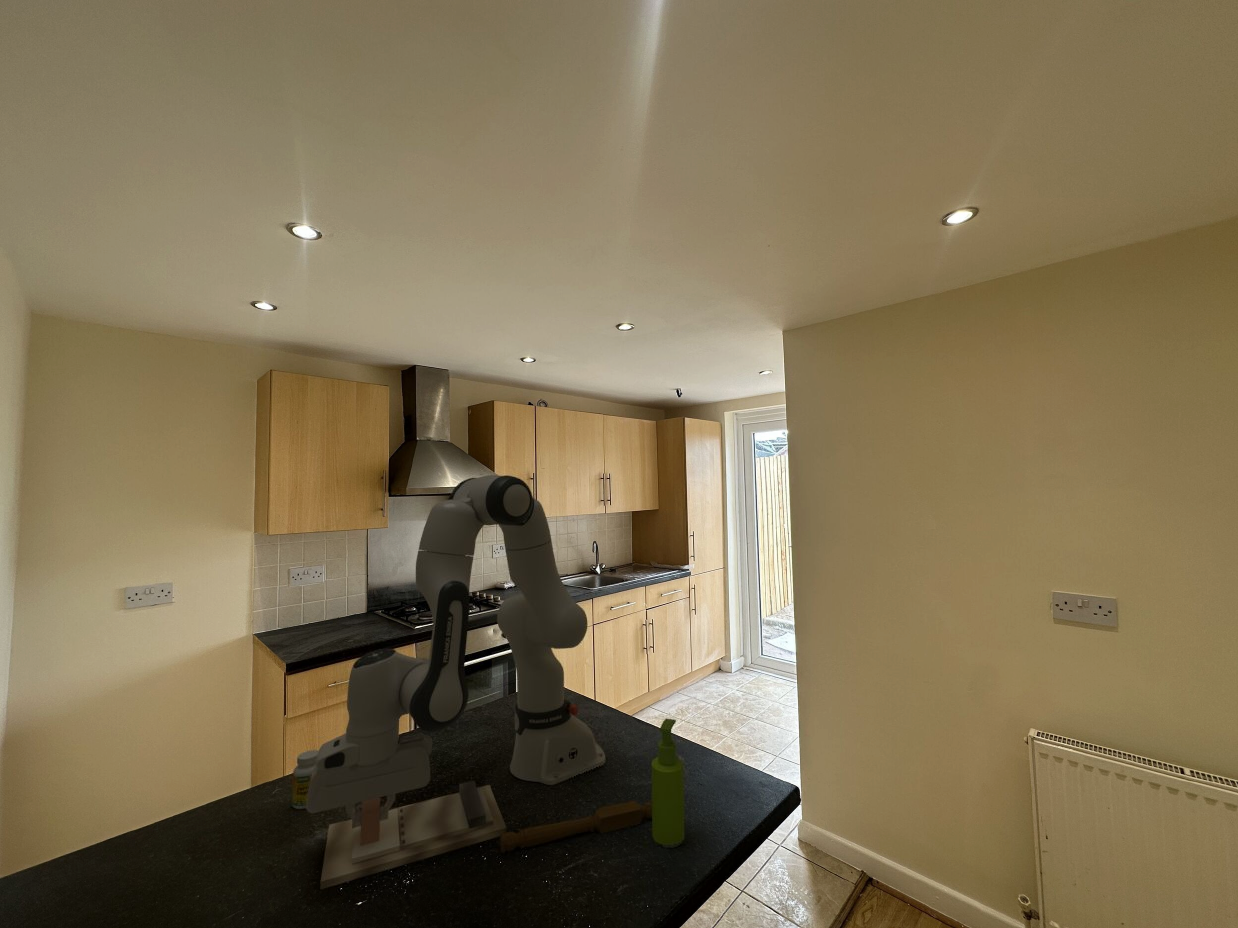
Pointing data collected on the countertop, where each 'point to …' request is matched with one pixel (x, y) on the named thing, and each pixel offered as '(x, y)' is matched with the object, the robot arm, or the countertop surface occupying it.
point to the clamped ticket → (418, 833)
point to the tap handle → (579, 825)
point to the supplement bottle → (303, 777)
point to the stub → (375, 833)
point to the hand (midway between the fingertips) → (370, 821)
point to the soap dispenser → (667, 790)
